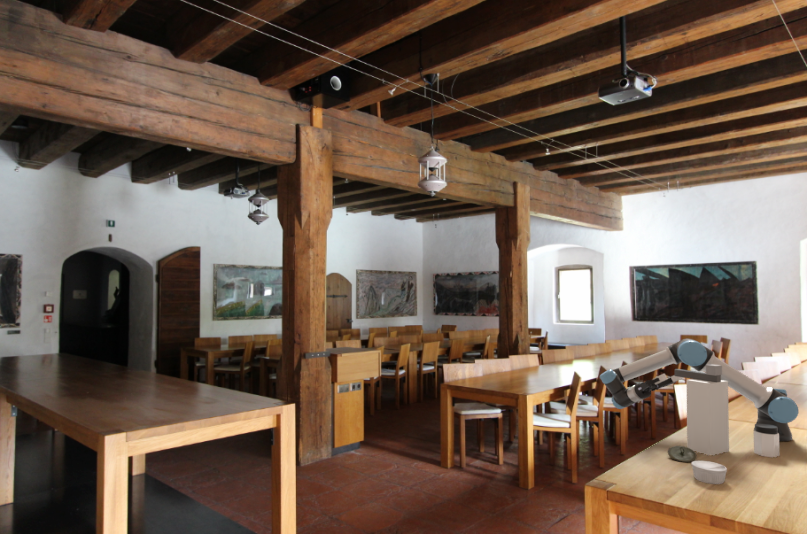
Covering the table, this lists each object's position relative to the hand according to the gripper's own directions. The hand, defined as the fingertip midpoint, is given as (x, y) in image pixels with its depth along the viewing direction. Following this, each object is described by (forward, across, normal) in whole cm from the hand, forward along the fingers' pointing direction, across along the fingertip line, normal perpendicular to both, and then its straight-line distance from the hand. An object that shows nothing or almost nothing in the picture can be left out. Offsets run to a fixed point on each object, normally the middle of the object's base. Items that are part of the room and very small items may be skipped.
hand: (674, 375), depth 241 cm
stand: (-3, 0, -33) cm, 34 cm away
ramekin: (+15, +35, -44) cm, 59 cm away
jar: (+10, -18, -41) cm, 46 cm away
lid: (-1, +21, -34) cm, 40 cm away
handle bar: (+8, -1, -5) cm, 10 cm away
